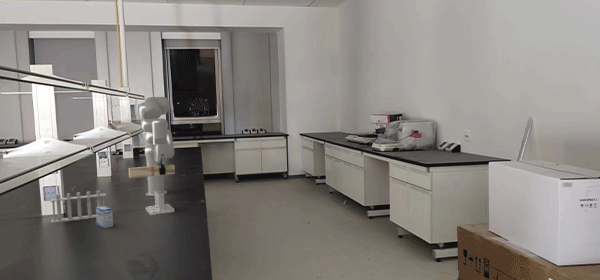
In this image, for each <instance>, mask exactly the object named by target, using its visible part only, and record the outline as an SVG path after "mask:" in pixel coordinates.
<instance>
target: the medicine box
mask: <svg viewBox="0 0 600 280" xmlns="http://www.w3.org/2000/svg"><path fill="white" fill-rule="evenodd" d="M95 215H96V218H95V219H96V226H98V227H99V228H102V229H107V228H112V227H113V226H114V220H113V219H114V218H113V208H111V207H109V206H106V205H105V206H103V205H101V207H97V206H96V207H95Z"/></svg>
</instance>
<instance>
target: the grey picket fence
mask: <svg viewBox="0 0 600 280" xmlns="http://www.w3.org/2000/svg"><path fill="white" fill-rule="evenodd" d="M95 193H96V194H91V191H86V195H81V192H76V196H71V193H66V197H61V195H60V194H56V195H55V198H51V199H50V200H49V202H50V203H51V204H52V216H53V218H52V219H51V221H50V223H51V224H56V223H64V222H65V223H66V222H71V221H72V222H73V220H74V221H79V220H80V221H81V219H82V220H88V219H89V218H90V219H96V214H92V201H91V200H92V198H96V207H101V206H106V205H105V204H106V203H105V197H106V196H107V194H106V193H101V190H96V191H95ZM101 198H102V203H101ZM82 199H86V206H87V215H83V212H82ZM72 200H76V205H77V206H76V207H77V216H73V217H72V213H73V212H72V211H73V210H72ZM62 201H66V208H67V210H66V211H67V217H63V218H62V216H63V215H62V204H61V203H62ZM55 202H56V207H55ZM56 212H57V218H56ZM90 219H89V220H90Z"/></svg>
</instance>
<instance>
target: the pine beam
mask: <svg viewBox="0 0 600 280" xmlns="http://www.w3.org/2000/svg"><path fill="white" fill-rule="evenodd" d="M159 168H160V165H158V166H148V167H147V166H140V167H139V166H138V167H128V178H129V179H138V178H139V179H140V178H146V177H147V178H148V177H149V176H159V175H160V174H159ZM165 172H166V174H165V175H164V176H166V175H175V174H176V168H175V164H174V163H171V164H165Z"/></svg>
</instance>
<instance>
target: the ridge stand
mask: <svg viewBox="0 0 600 280" xmlns="http://www.w3.org/2000/svg"><path fill="white" fill-rule="evenodd" d="M154 194H155V196H154V205H149V206H145V210H146V212H147V214H149V215H150V216H155V215H160V214H169V213H174V212H175V208H174V207H173V206H172V205H170V204H169V203H165V195H164V193H162V192H161V191H160V190H154Z"/></svg>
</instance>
